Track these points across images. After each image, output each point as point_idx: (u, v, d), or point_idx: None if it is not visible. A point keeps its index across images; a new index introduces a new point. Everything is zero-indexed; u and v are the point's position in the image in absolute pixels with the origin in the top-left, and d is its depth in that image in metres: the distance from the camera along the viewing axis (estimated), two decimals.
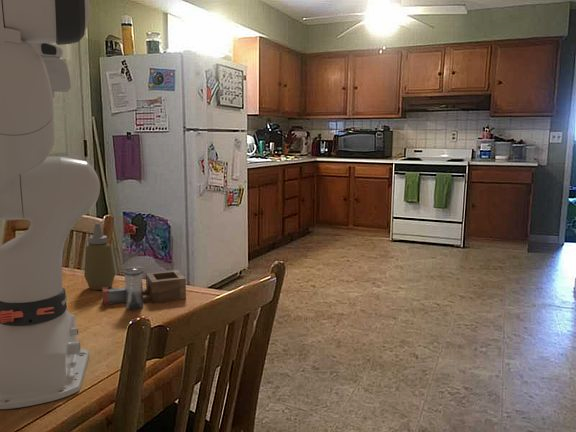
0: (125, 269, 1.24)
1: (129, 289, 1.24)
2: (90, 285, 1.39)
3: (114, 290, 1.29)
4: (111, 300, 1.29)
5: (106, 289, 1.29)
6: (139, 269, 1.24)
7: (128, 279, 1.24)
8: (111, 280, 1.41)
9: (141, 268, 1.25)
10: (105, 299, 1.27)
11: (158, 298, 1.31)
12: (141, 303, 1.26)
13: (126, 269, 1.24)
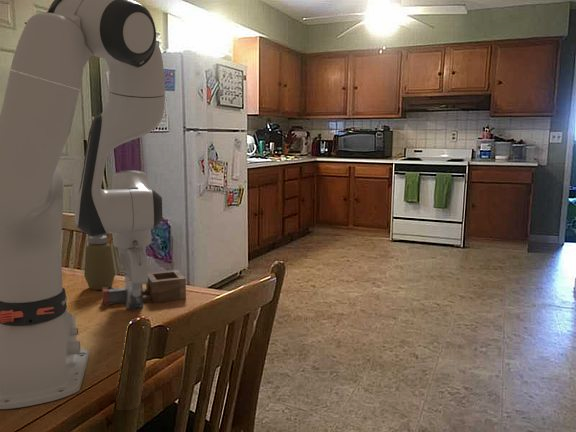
0: (125, 269, 1.24)
1: (129, 289, 1.24)
2: (90, 285, 1.39)
3: (114, 290, 1.29)
4: (111, 300, 1.29)
5: (106, 289, 1.29)
6: None
7: (128, 279, 1.24)
8: (111, 280, 1.41)
9: None
10: (105, 299, 1.27)
11: (158, 298, 1.31)
12: (141, 303, 1.26)
13: None
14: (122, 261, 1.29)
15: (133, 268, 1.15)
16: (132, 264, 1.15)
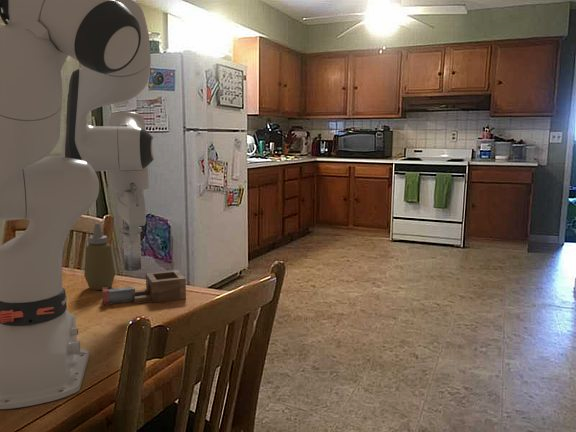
0: (123, 228, 1.22)
1: (127, 249, 1.22)
2: (90, 285, 1.39)
3: (114, 290, 1.29)
4: (111, 300, 1.29)
5: (106, 289, 1.29)
6: None
7: (126, 239, 1.22)
8: (111, 280, 1.41)
9: (139, 228, 1.23)
10: (105, 299, 1.27)
11: (158, 298, 1.31)
12: (139, 263, 1.24)
13: (124, 228, 1.22)
14: (119, 209, 1.26)
15: (130, 208, 1.13)
16: (129, 204, 1.13)
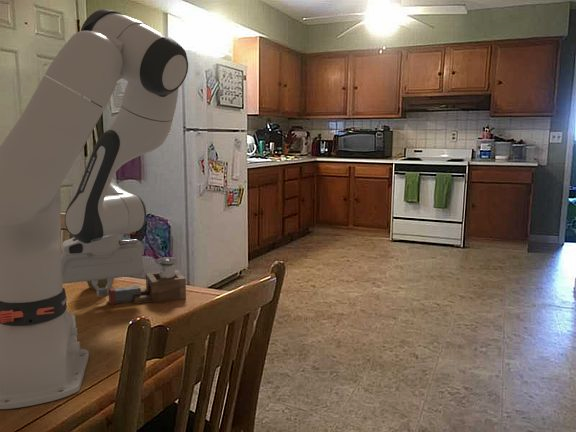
0: (159, 260, 1.33)
1: (163, 278, 1.33)
2: (90, 285, 1.39)
3: (120, 289, 1.30)
4: (117, 300, 1.29)
5: (112, 288, 1.30)
6: (173, 260, 1.33)
7: (162, 269, 1.33)
8: None
9: (174, 259, 1.34)
10: (111, 298, 1.28)
11: (158, 298, 1.31)
12: None
13: (160, 260, 1.33)
14: (79, 274, 1.24)
15: (142, 259, 1.30)
16: (141, 256, 1.30)
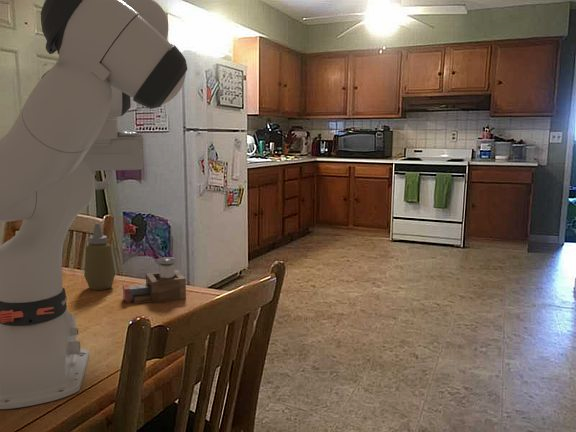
0: (159, 260, 1.33)
1: (162, 278, 1.33)
2: (90, 285, 1.39)
3: (134, 288, 1.31)
4: (132, 298, 1.31)
5: (127, 286, 1.31)
6: (172, 260, 1.33)
7: (162, 269, 1.33)
8: (111, 280, 1.41)
9: (174, 259, 1.34)
10: (126, 296, 1.30)
11: (158, 298, 1.31)
12: None
13: (160, 260, 1.33)
14: None
15: (141, 153, 1.26)
16: (140, 149, 1.25)
